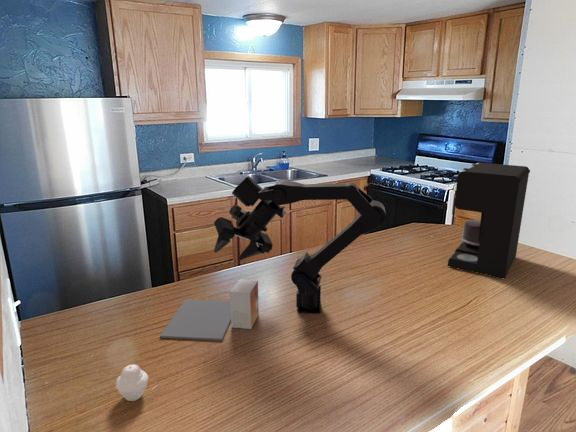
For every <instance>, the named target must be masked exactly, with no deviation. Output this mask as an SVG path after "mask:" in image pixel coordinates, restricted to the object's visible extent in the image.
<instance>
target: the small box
mask: <svg viewBox="0 0 576 432" xmlns="http://www.w3.org/2000/svg"><path fill="white" fill-rule="evenodd" d="M229 299H230V300H229V301H230V308H231V322H230V324H231V325H230V326H231V328H236V329H246V330H252V328H253V326H254V325H255V323H256V321H257V319H258V318H259V315H260V311H259V280H251V279H238V280H237V282H236V283H235V284H234V286H233V287H232V288H231V290H230V291H229Z"/></svg>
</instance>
